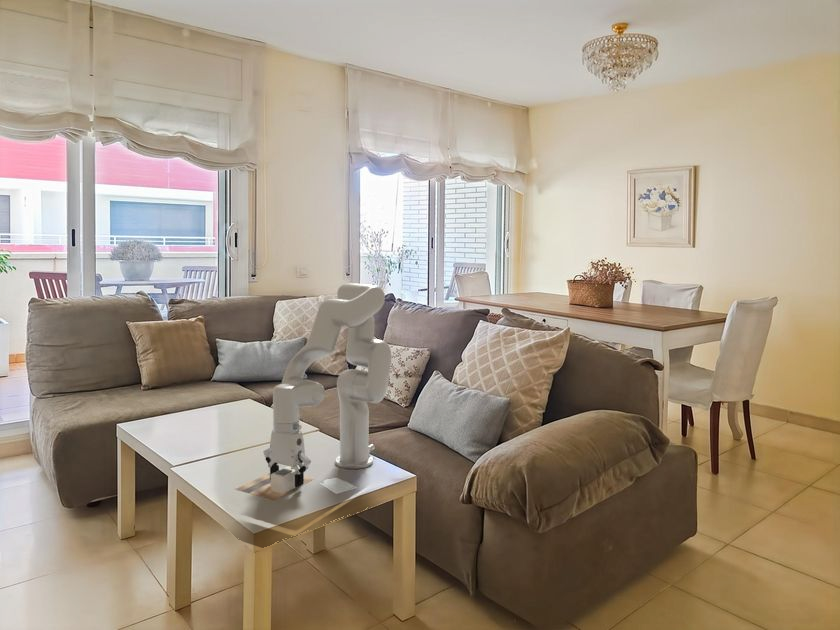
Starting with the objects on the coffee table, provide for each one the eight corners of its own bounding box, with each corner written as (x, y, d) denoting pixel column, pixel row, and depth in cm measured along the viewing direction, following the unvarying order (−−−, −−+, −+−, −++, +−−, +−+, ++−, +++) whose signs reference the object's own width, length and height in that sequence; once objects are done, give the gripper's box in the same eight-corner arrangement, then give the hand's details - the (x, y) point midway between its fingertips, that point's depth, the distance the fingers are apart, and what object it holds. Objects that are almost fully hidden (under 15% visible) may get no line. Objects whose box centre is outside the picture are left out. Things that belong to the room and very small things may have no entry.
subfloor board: (277, 472, 197) (277, 469, 196) (314, 482, 189) (314, 478, 189) (235, 492, 181) (235, 489, 181) (274, 503, 174) (274, 500, 174)
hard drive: (359, 487, 184) (336, 474, 193) (335, 494, 178) (313, 480, 188) (359, 492, 184) (336, 479, 193) (335, 499, 178) (313, 486, 188)
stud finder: (291, 480, 188) (291, 463, 187) (303, 483, 186) (302, 466, 185) (271, 490, 180) (270, 473, 179) (282, 493, 178) (282, 476, 177)
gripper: (317, 427, 180) (317, 484, 182) (272, 418, 188) (273, 472, 190) (301, 434, 173) (301, 493, 175) (255, 424, 181) (255, 480, 183)
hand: (286, 482), depth 183 cm, fingers open, 9 cm apart
